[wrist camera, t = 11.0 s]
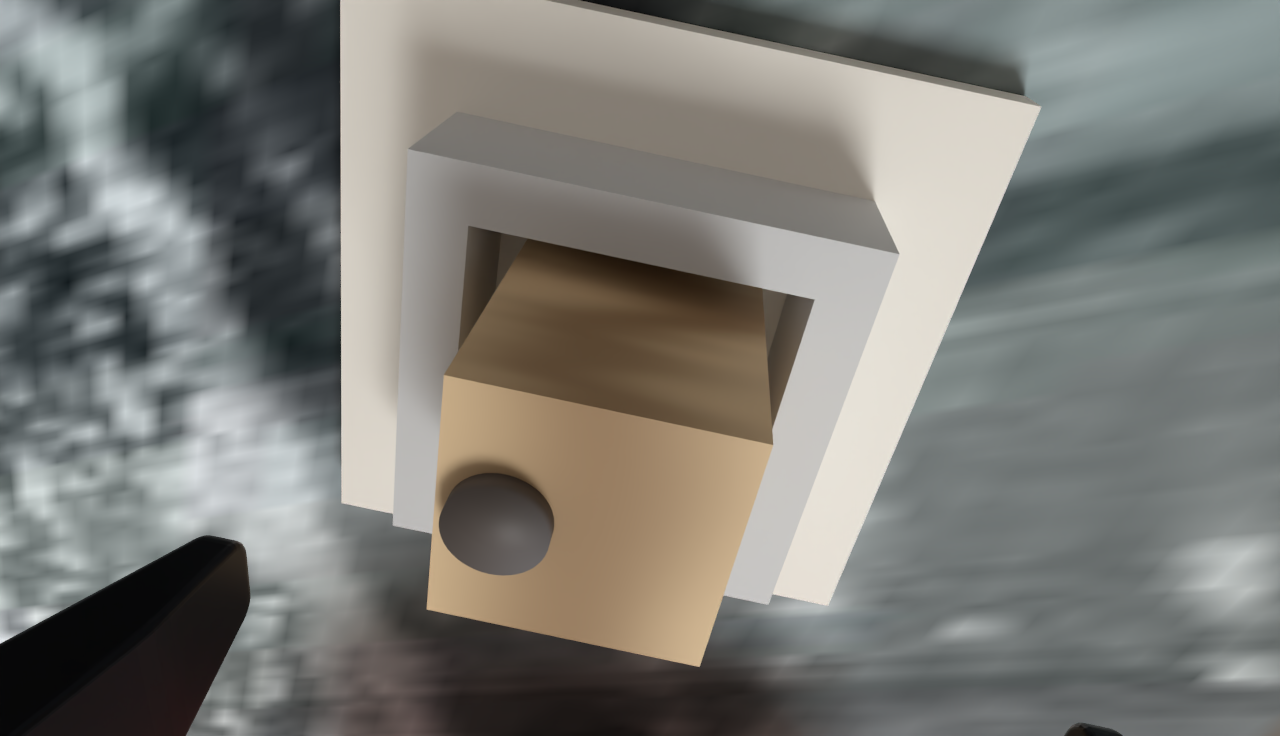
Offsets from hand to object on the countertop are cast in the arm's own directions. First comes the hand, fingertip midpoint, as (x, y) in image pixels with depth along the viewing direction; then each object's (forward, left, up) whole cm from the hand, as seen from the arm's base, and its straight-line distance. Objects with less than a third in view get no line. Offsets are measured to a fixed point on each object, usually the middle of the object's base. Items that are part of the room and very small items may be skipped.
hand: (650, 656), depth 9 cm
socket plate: (+1, +2, -12) cm, 12 cm away
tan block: (+1, +2, -11) cm, 11 cm away
